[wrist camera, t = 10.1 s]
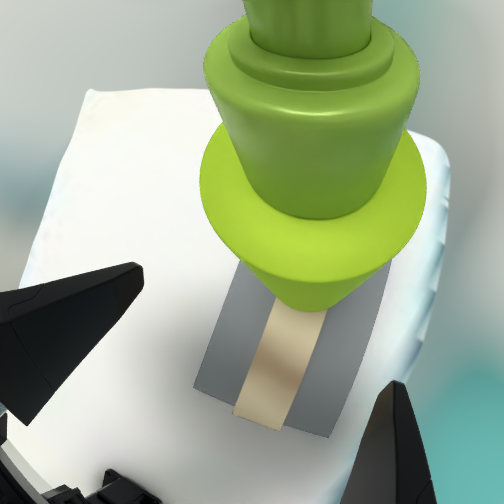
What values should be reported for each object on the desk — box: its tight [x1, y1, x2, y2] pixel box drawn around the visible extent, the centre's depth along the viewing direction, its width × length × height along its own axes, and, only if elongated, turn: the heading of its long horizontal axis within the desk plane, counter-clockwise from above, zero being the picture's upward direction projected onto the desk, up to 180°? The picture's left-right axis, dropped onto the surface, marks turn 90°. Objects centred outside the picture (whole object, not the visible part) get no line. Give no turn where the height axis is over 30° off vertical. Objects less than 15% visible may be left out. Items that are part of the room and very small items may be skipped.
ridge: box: [232, 297, 328, 431], centre depth 20 cm, size 20×4×2 cm, turn 160°
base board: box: [193, 259, 392, 438], centre depth 21 cm, size 20×11×1 cm, turn 160°
